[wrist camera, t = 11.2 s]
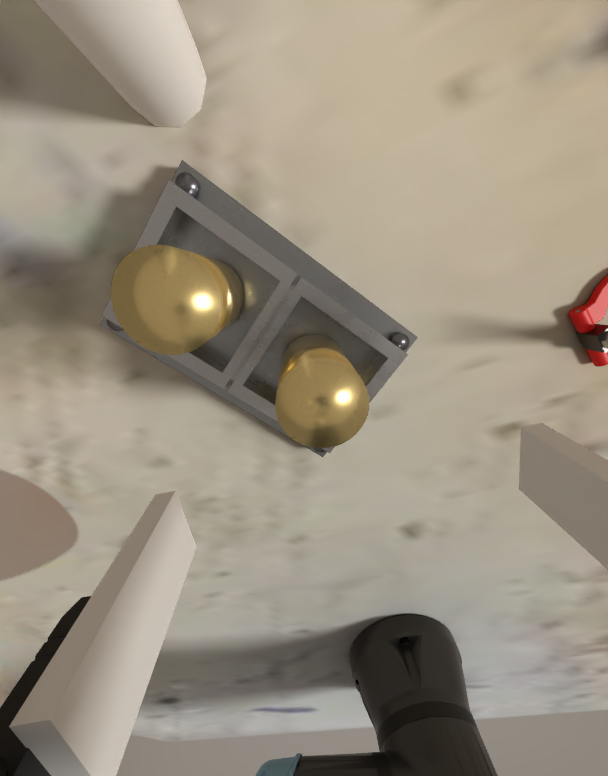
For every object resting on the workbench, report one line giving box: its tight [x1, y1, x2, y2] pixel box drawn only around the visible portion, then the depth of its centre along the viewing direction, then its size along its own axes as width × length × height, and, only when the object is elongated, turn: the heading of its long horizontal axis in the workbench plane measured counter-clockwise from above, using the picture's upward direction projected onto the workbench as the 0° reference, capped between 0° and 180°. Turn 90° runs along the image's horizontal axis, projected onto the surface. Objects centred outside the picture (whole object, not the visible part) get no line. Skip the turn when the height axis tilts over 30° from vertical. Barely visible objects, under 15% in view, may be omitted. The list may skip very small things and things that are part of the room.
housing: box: [100, 160, 418, 457], centre depth 25 cm, size 15×24×12 cm, turn 56°
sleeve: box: [275, 335, 369, 448], centre depth 25 cm, size 6×6×10 cm
